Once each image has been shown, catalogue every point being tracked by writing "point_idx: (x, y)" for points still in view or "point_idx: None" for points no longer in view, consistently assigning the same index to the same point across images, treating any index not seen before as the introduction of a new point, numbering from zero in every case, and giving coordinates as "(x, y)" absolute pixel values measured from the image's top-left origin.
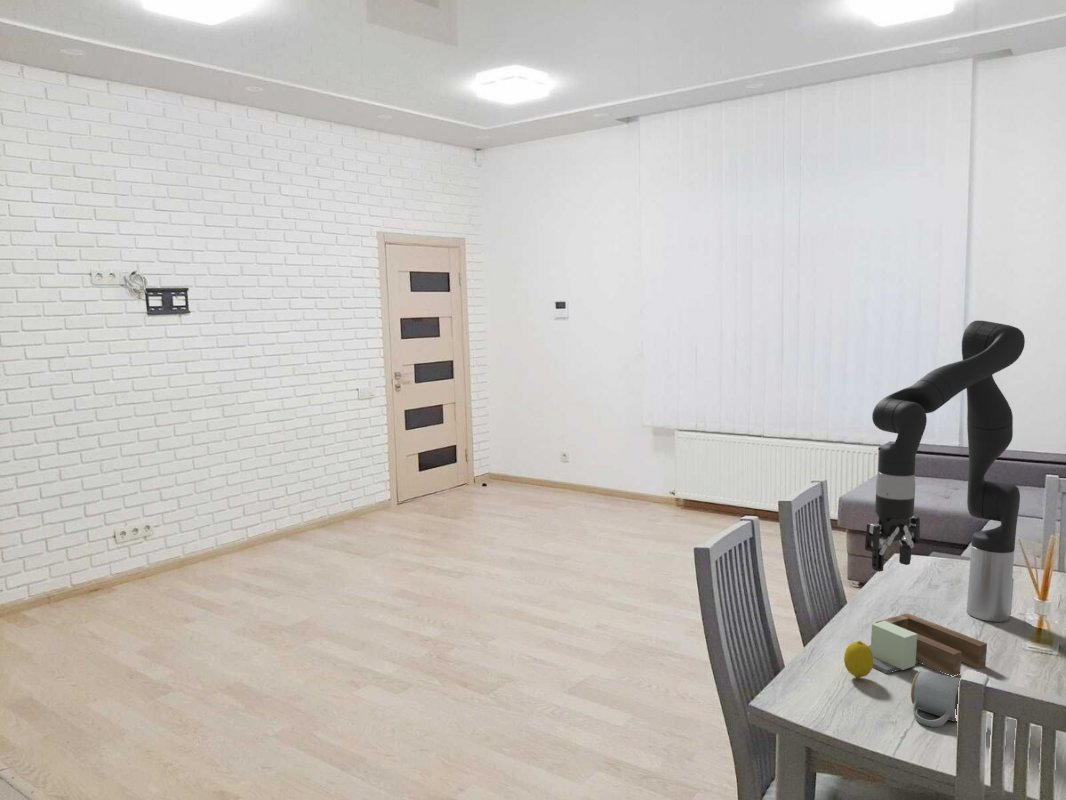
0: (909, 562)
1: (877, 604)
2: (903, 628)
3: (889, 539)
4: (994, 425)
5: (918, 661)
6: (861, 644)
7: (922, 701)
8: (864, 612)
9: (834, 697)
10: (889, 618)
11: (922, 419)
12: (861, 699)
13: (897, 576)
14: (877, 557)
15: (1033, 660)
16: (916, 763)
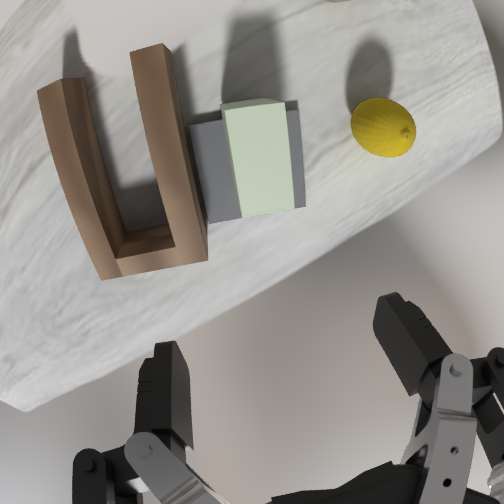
0: (160, 350)
1: (101, 350)
2: (233, 155)
3: (467, 453)
4: None
5: (189, 125)
6: (406, 127)
7: None
8: (137, 336)
9: (435, 93)
10: (161, 268)
11: None
12: (409, 65)
13: (41, 390)
14: (446, 347)
15: None
16: None
